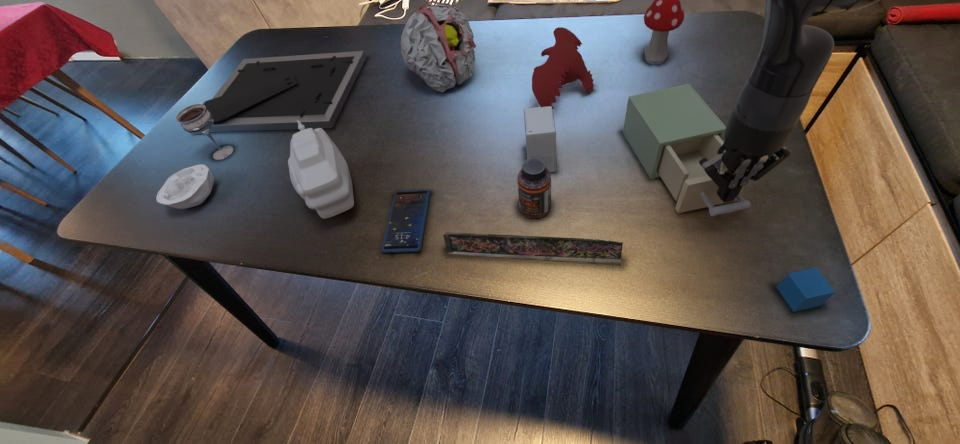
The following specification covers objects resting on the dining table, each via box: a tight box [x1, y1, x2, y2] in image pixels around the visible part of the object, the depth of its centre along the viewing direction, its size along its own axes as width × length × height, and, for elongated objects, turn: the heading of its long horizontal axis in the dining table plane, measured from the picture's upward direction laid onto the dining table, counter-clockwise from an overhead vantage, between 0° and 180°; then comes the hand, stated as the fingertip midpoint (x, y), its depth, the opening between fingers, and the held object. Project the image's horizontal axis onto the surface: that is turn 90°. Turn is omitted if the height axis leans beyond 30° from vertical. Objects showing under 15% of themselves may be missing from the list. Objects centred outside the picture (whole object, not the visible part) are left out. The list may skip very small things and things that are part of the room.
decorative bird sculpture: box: [531, 26, 594, 110], centre depth 99 cm, size 28×9×15 cm
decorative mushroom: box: [643, 0, 685, 66], centre depth 99 cm, size 10×9×15 cm
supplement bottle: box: [516, 158, 552, 219], centre depth 76 cm, size 6×6×11 cm
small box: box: [523, 105, 557, 173], centre depth 84 cm, size 8×6×10 cm
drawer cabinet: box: [622, 83, 727, 180], centre depth 82 cm, size 14×12×9 cm
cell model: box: [155, 163, 215, 210], centre depth 93 cm, size 10×12×7 cm
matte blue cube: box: [776, 267, 836, 313], centre depth 62 cm, size 4×4×4 cm
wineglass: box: [175, 103, 234, 161], centre depth 100 cm, size 7×7×12 cm
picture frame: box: [202, 50, 367, 134], centre depth 116 cm, size 31×4×39 cm
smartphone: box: [380, 189, 431, 254], centre depth 83 cm, size 8×1×15 cm
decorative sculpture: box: [399, 0, 477, 93], centre depth 107 cm, size 19×21×20 cm
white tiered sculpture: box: [287, 120, 355, 220], centre depth 83 cm, size 11×18×16 cm, turn 24°
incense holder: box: [442, 231, 624, 266], centre depth 72 cm, size 30×1×5 cm, turn 81°
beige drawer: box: [657, 134, 751, 217], centre depth 74 cm, size 18×11×7 cm, turn 10°
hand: (725, 197), depth 69 cm, fingers closed
